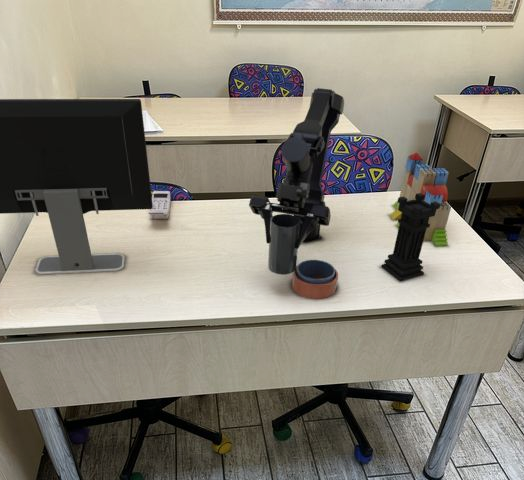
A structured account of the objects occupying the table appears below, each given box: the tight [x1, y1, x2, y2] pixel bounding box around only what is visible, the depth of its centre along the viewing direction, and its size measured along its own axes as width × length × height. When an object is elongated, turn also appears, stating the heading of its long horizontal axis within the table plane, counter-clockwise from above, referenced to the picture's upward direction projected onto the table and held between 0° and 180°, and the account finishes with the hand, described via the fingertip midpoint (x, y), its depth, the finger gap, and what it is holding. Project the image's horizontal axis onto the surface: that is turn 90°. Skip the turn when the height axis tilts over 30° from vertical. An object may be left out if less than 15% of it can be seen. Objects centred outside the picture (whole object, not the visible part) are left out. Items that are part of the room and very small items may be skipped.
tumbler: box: [267, 213, 300, 276], centre depth 120 cm, size 7×7×12 cm
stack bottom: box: [291, 263, 339, 300], centre depth 129 cm, size 11×11×4 cm
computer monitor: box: [0, 98, 153, 275], centre depth 122 cm, size 41×8×40 cm, turn 98°
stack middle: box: [296, 259, 336, 284], centre depth 129 cm, size 10×10×5 cm
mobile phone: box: [146, 190, 171, 220], centre depth 158 cm, size 6×6×25 cm
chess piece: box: [380, 193, 440, 282], centre depth 131 cm, size 8×8×20 cm
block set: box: [389, 152, 452, 247], centre depth 153 cm, size 28×14×19 cm, turn 7°
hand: (282, 245), depth 119 cm, fingers closed on tumbler, 7 cm apart
